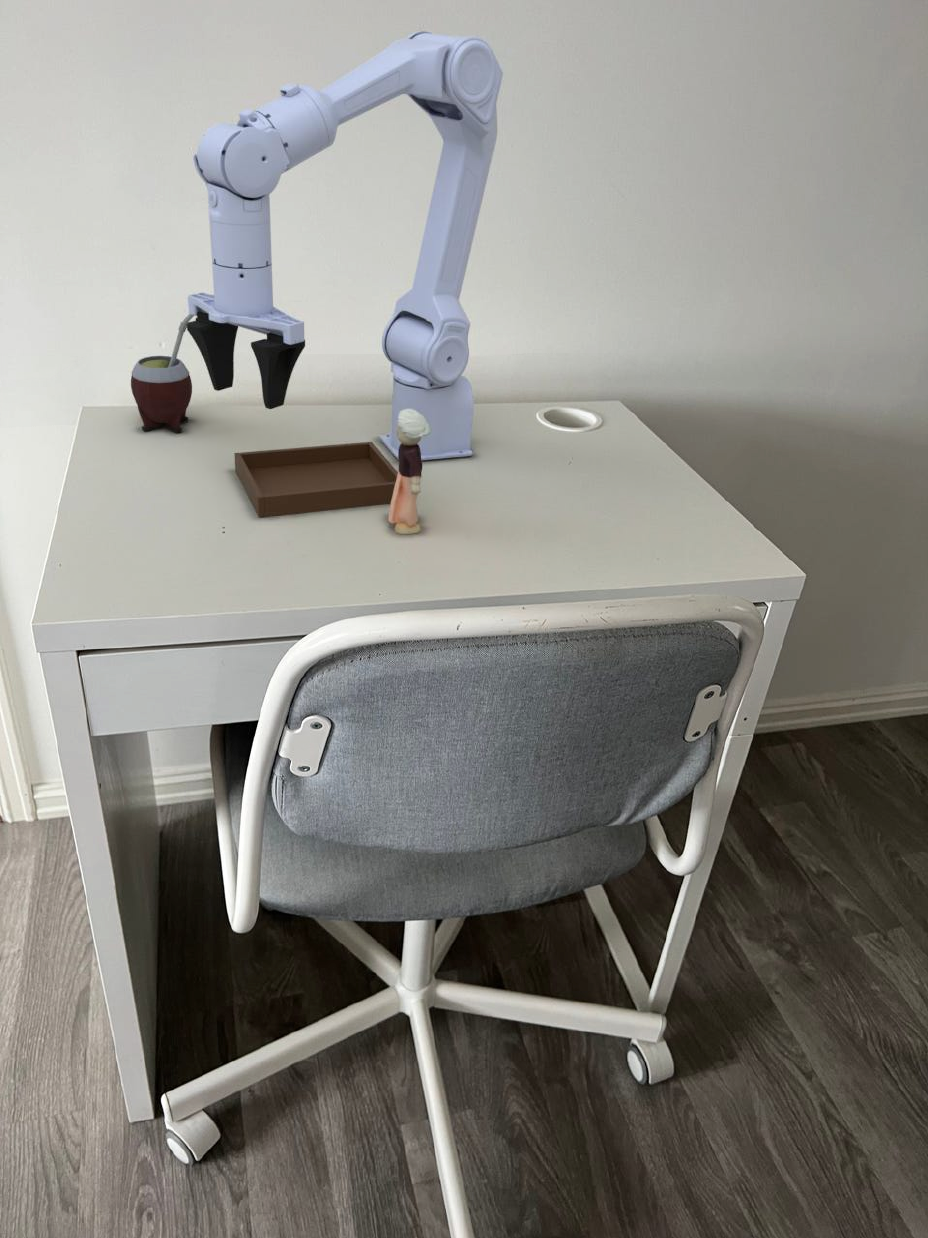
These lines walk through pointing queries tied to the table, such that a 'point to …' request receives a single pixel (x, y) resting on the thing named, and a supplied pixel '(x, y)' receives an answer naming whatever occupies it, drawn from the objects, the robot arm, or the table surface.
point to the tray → (315, 478)
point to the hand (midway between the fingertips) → (248, 397)
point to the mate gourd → (162, 388)
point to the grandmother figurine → (408, 472)
